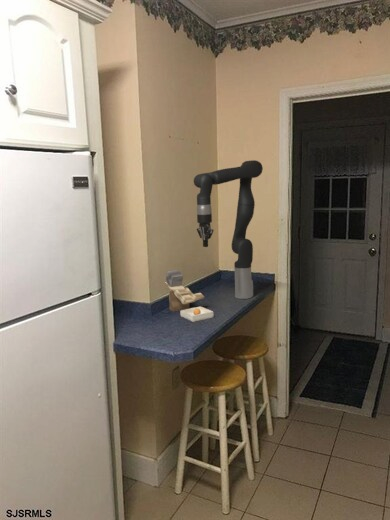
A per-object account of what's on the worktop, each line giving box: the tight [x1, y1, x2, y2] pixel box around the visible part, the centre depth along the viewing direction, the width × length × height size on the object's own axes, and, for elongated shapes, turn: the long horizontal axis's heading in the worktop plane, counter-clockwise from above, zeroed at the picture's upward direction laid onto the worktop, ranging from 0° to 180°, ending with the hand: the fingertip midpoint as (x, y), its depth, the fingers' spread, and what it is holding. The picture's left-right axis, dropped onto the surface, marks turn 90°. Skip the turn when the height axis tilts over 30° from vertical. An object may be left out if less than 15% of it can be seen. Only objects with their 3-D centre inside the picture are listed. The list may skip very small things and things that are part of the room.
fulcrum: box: [168, 286, 191, 313], centre depth 222 cm, size 4×10×10 cm, turn 122°
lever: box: [164, 269, 205, 304], centre depth 220 cm, size 20×13×7 cm, turn 32°
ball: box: [193, 309, 201, 315], centre depth 208 cm, size 4×4×4 cm
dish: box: [179, 306, 214, 323], centre depth 208 cm, size 12×12×3 cm
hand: (205, 246), depth 224 cm, fingers closed
